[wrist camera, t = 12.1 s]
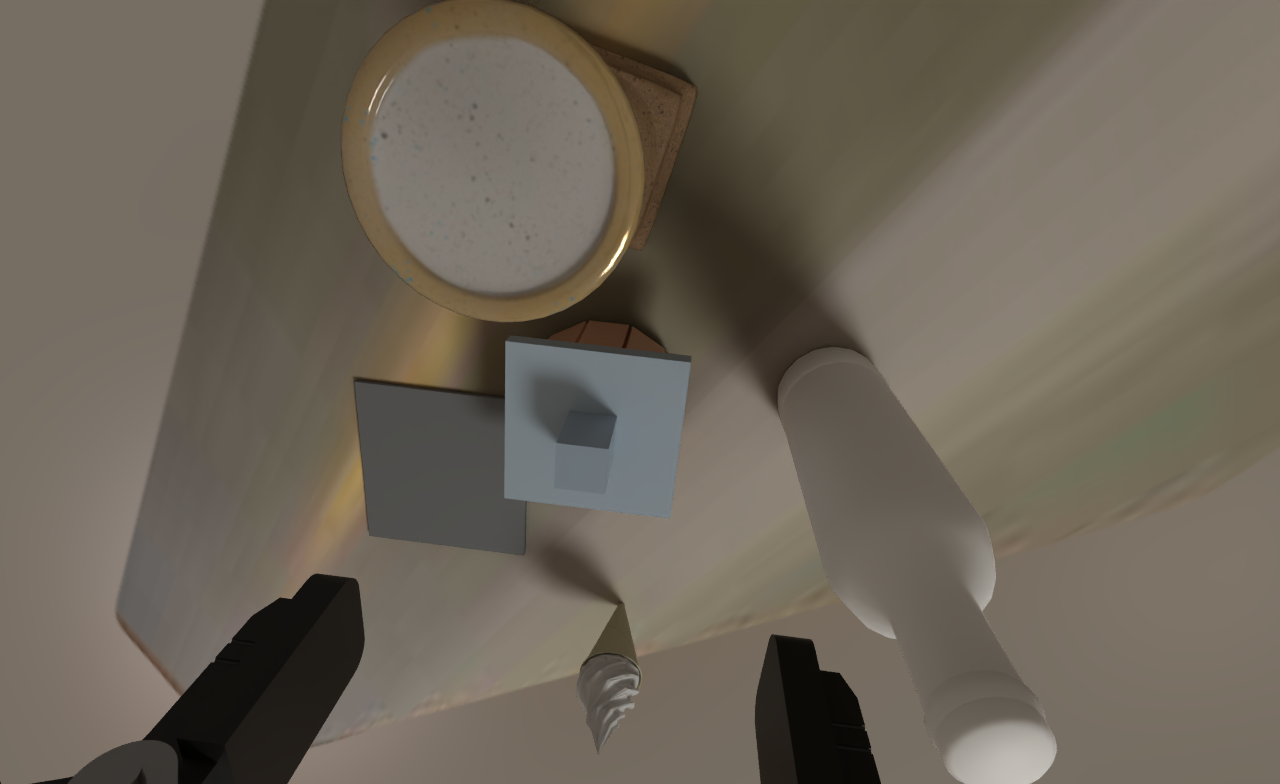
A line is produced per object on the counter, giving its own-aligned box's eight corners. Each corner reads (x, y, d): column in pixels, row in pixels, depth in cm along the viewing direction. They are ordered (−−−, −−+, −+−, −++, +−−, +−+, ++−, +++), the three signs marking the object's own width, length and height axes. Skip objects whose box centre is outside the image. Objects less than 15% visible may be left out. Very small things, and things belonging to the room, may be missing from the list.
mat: (356, 379, 51) (354, 381, 51) (529, 400, 51) (527, 402, 50) (371, 533, 57) (369, 535, 57) (525, 552, 57) (524, 555, 56)
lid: (510, 335, 42) (483, 367, 37) (691, 356, 42) (690, 391, 36) (508, 489, 47) (485, 536, 42) (670, 509, 47) (667, 559, 41)
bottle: (782, 447, 51) (885, 842, 23) (768, 355, 48) (867, 684, 20) (886, 431, 49) (1126, 829, 22) (879, 336, 46) (1145, 658, 19)
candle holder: (644, 249, 45) (598, 376, 23) (497, 195, 44) (306, 274, 23) (701, 87, 41) (708, 56, 19) (538, 24, 40) (350, -81, 18)
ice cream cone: (631, 575, 57) (611, 722, 43) (658, 615, 58) (647, 769, 45) (583, 593, 58) (549, 742, 44) (611, 632, 60) (586, 787, 46)
